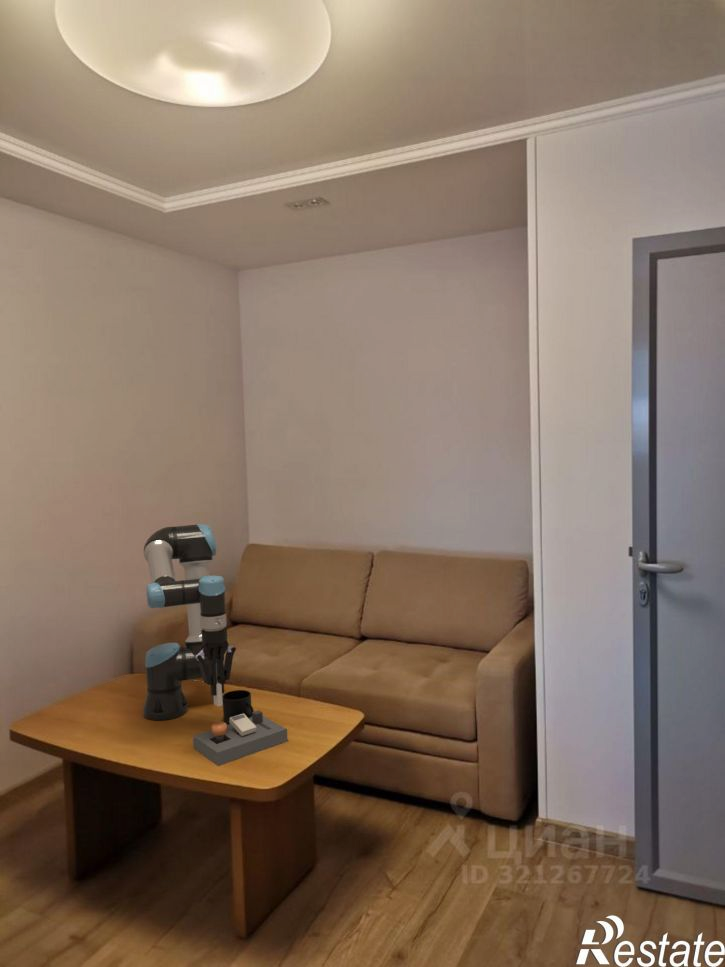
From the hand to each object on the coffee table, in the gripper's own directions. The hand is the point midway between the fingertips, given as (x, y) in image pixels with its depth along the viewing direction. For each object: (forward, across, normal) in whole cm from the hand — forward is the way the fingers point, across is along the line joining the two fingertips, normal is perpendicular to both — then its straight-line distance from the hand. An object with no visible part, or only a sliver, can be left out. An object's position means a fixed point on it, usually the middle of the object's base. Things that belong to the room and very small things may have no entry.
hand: (218, 704), depth 221 cm
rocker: (+9, +8, 0) cm, 12 cm away
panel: (+15, +7, 0) cm, 16 cm away
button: (+12, 0, 0) cm, 12 cm away
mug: (+15, +16, +16) cm, 27 cm away
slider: (+11, +15, +3) cm, 19 cm away
